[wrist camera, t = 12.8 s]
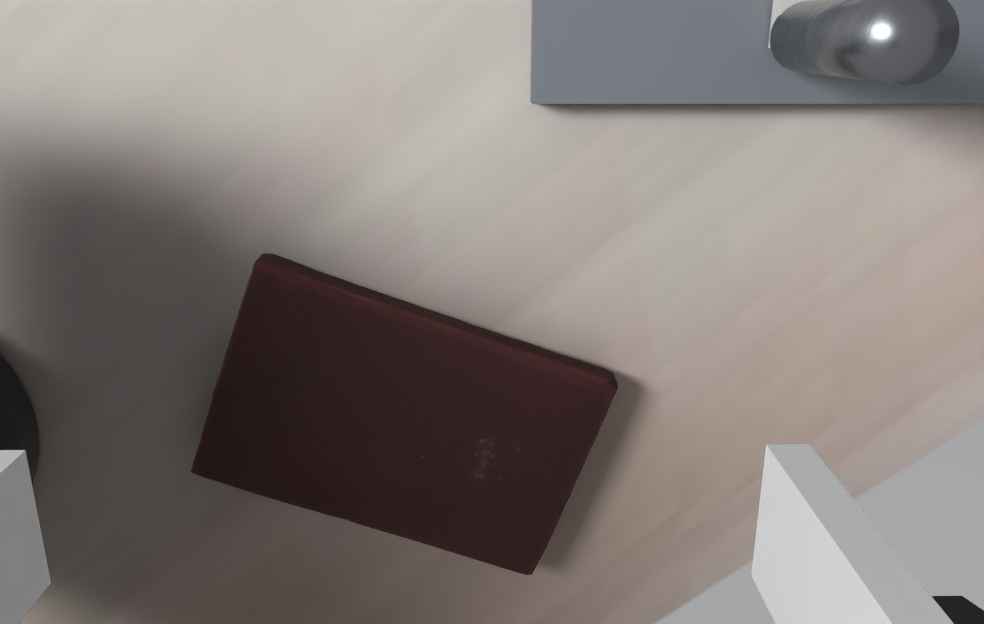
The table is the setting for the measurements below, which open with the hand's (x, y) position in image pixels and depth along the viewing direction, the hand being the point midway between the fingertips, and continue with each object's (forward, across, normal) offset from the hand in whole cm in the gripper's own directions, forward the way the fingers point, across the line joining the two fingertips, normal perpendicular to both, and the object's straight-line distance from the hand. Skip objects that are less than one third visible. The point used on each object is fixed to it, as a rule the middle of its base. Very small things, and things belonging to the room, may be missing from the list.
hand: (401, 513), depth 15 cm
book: (+29, +2, +12) cm, 32 cm away
